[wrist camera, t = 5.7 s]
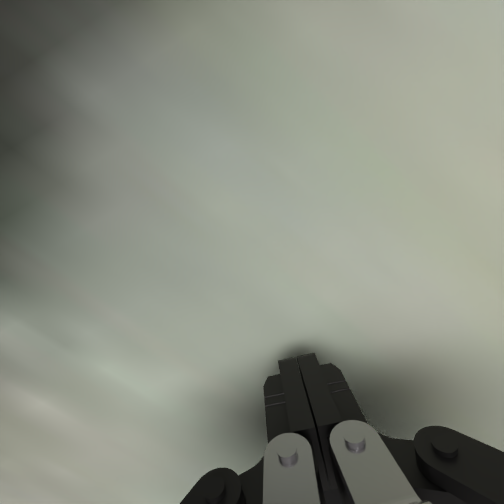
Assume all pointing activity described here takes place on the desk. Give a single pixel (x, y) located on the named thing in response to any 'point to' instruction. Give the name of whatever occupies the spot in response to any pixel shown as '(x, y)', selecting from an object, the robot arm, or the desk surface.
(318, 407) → the robot arm
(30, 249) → the desk surface
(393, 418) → the desk surface
